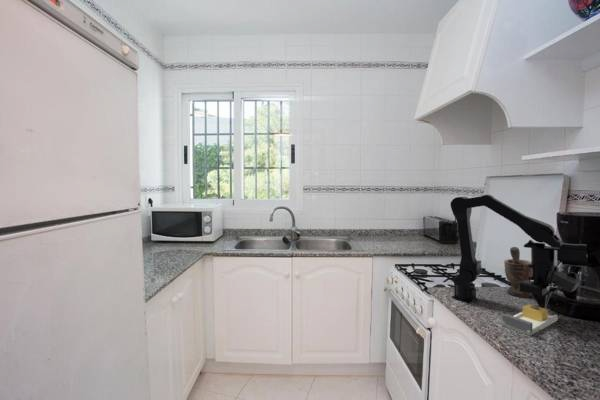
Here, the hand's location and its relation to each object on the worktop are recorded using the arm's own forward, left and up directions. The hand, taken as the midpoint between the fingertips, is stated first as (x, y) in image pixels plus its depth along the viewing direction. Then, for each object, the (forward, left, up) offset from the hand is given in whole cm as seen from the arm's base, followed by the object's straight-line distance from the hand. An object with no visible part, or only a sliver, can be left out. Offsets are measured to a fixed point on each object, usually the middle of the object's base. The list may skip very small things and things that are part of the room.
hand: (542, 309), depth 90 cm
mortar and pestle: (-12, +14, -3) cm, 19 cm away
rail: (0, -8, -2) cm, 9 cm away
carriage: (0, -6, -1) cm, 6 cm away
